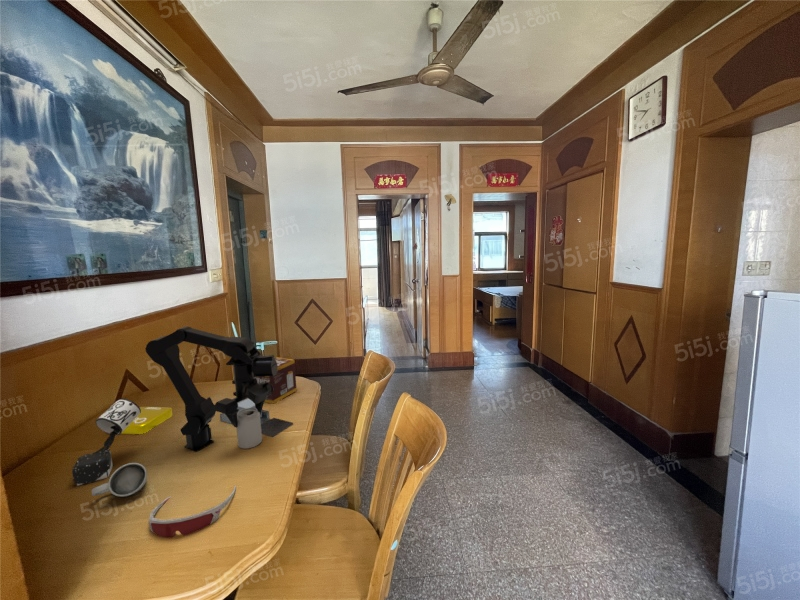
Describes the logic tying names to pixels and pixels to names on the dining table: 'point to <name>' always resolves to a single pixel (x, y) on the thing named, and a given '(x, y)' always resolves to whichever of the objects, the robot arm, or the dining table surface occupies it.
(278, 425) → the base
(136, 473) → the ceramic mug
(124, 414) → the table lamp
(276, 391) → the supplement box
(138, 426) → the element tile
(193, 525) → the sunglasses
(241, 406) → the grey stepped machine block
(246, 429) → the can
